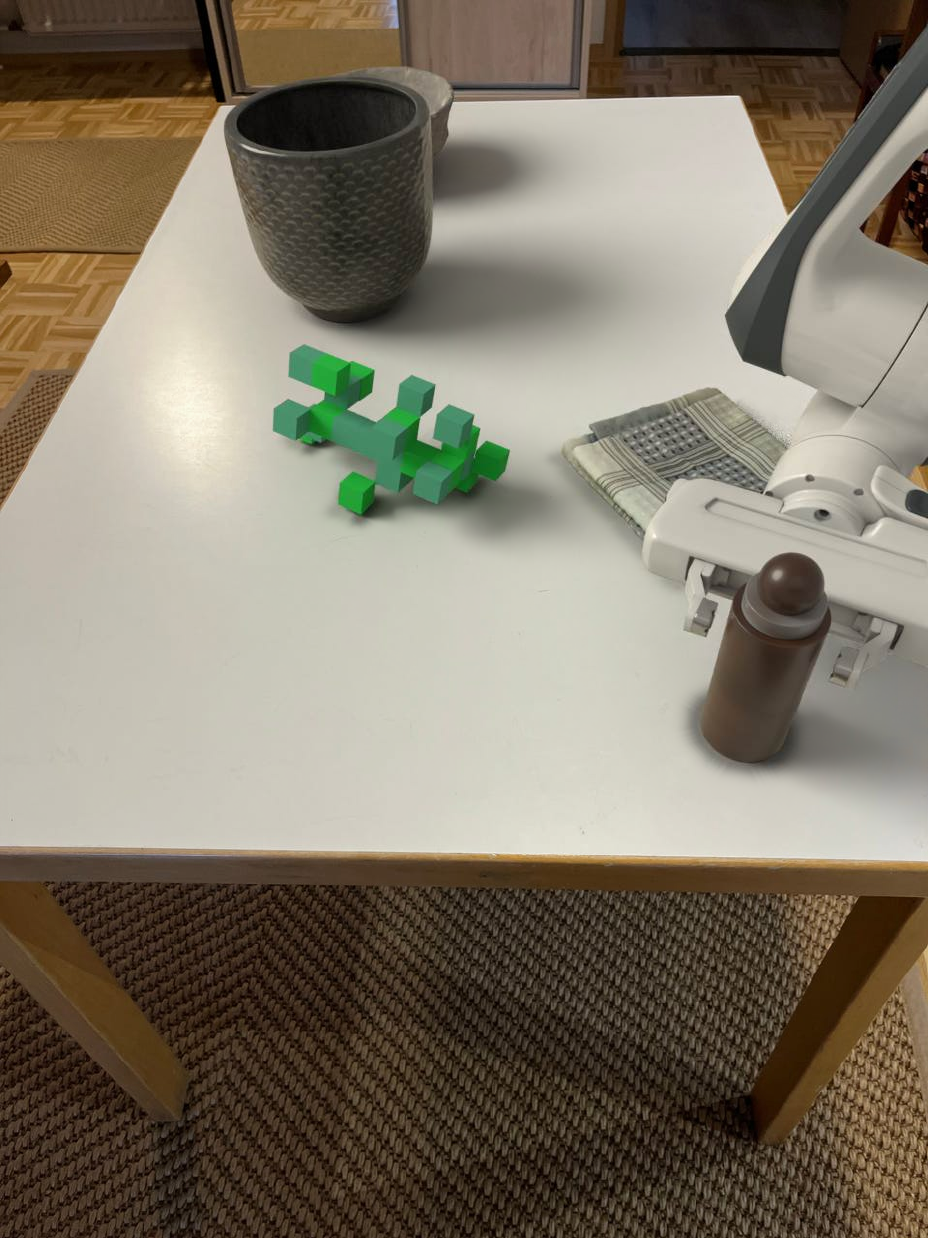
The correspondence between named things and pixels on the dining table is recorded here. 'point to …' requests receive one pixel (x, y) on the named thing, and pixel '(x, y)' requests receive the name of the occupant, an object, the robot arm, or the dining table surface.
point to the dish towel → (672, 452)
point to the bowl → (427, 86)
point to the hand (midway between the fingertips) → (767, 653)
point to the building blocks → (386, 432)
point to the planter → (336, 189)
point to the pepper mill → (766, 658)
